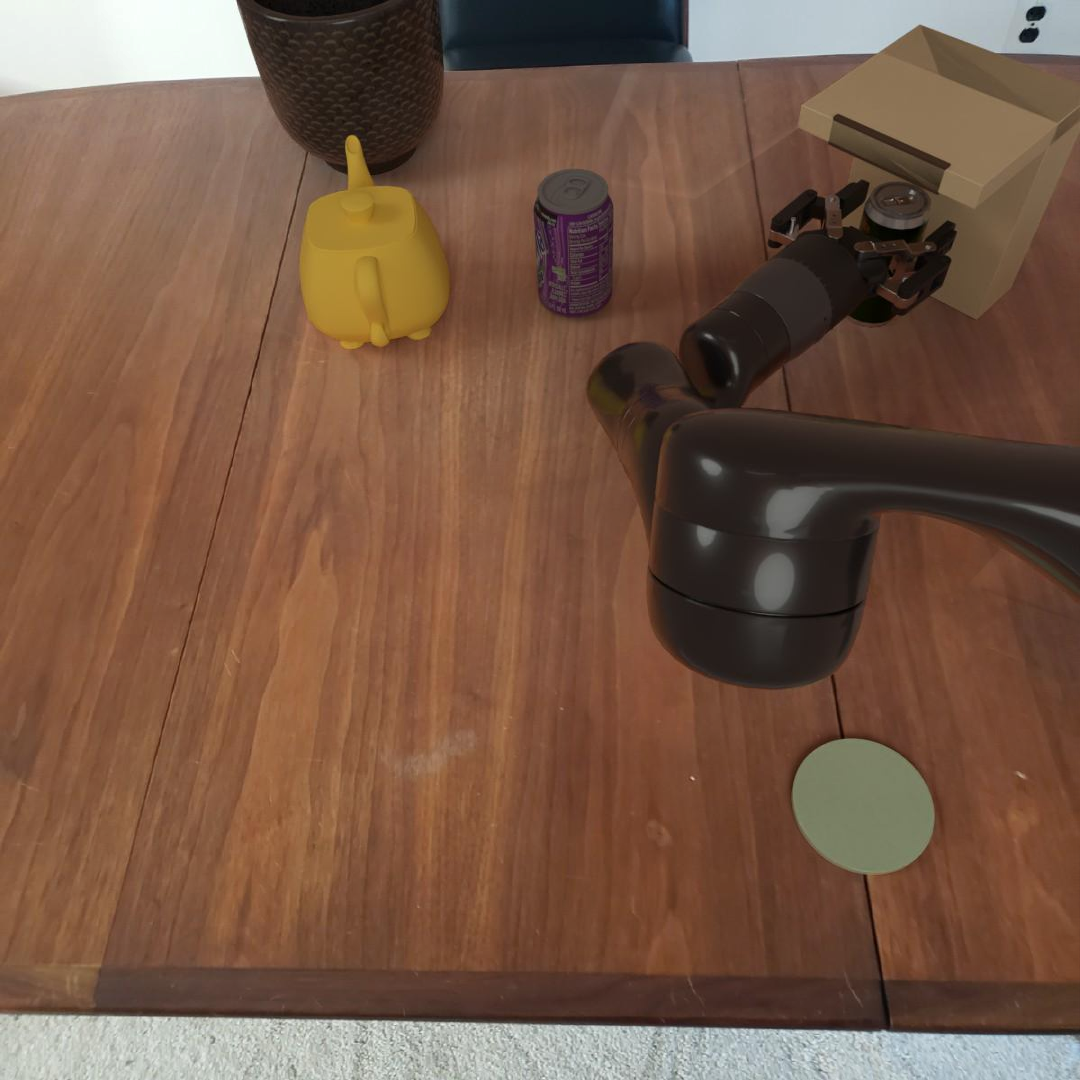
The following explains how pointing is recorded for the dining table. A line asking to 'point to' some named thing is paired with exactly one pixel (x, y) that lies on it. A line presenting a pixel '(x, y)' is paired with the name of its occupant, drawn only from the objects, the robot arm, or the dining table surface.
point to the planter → (350, 73)
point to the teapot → (371, 262)
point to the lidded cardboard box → (956, 148)
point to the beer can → (891, 236)
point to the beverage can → (574, 242)
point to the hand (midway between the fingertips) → (905, 209)
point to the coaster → (862, 806)
